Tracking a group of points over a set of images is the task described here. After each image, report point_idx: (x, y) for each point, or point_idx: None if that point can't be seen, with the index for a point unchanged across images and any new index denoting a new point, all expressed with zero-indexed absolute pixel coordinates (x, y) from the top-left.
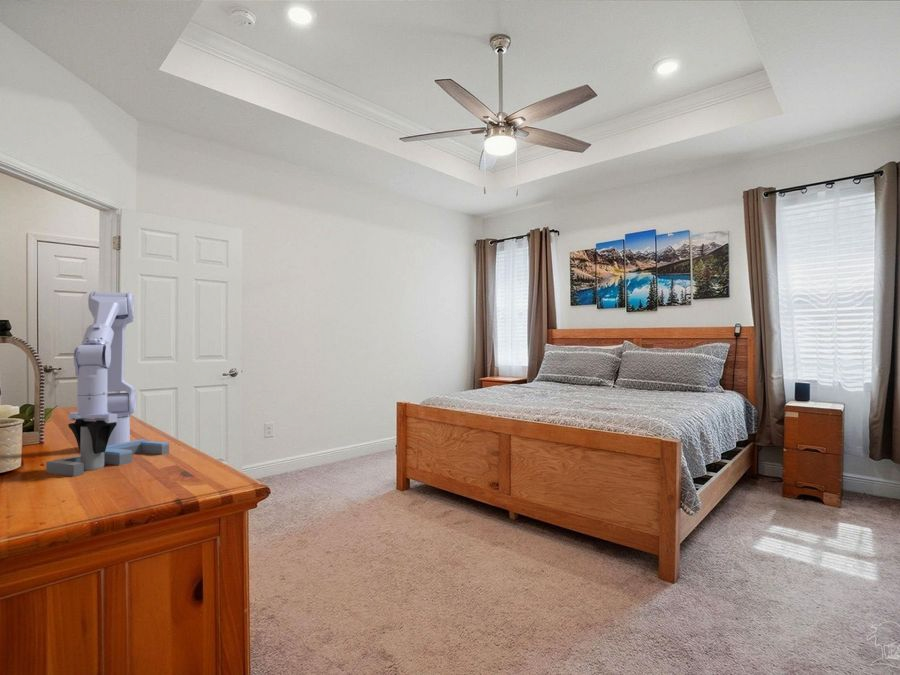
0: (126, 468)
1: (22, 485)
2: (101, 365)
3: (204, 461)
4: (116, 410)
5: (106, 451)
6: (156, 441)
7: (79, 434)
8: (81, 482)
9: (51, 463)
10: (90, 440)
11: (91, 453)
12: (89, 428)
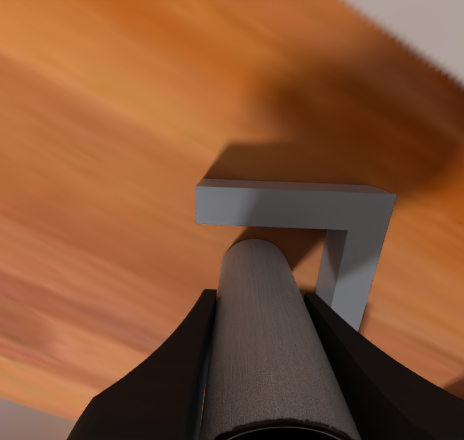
0: (144, 295)
1: (256, 12)
2: None
3: (20, 391)
4: None
5: None
6: None
7: (348, 365)
8: (77, 127)
9: (355, 191)
10: (223, 330)
11: (224, 284)
12: (164, 396)
